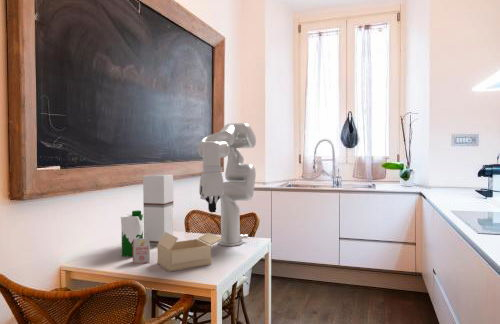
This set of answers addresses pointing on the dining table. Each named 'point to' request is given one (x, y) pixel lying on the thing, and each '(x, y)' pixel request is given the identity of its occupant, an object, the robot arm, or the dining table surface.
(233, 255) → the dining table surface
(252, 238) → the dining table surface
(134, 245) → the white red printed box
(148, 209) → the white banded tower
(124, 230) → the milk carton
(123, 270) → the dining table surface
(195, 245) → the carton
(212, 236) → the flap
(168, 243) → the flap
